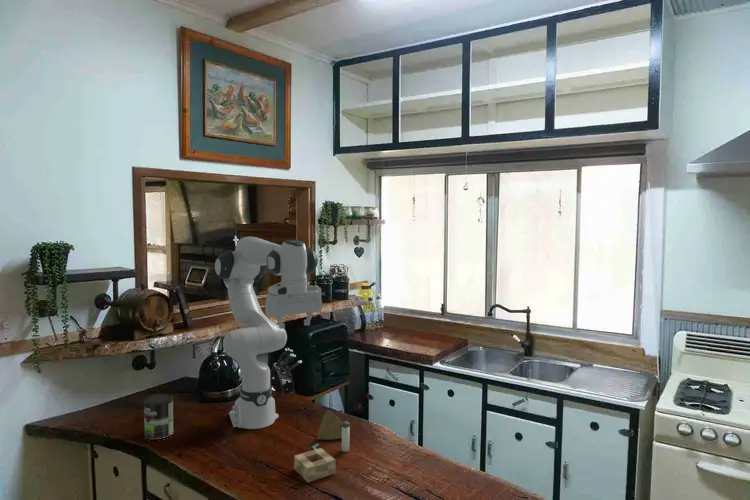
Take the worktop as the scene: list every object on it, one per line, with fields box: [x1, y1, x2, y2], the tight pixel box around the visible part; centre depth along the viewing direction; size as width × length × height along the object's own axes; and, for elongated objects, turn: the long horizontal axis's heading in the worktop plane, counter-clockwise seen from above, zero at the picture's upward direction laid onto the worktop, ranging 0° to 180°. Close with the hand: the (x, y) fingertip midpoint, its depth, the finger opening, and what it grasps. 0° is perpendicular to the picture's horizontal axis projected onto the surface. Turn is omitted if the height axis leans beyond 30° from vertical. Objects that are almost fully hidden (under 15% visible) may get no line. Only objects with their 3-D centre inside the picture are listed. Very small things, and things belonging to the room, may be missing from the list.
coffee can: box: [143, 393, 174, 439], centre depth 187 cm, size 10×10×14 cm
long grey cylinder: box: [341, 420, 351, 453], centre depth 177 cm, size 3×3×10 cm
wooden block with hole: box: [293, 447, 337, 483], centre depth 162 cm, size 10×10×4 cm
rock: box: [316, 409, 343, 441], centre depth 186 cm, size 11×9×10 cm
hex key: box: [311, 443, 320, 450], centre depth 176 cm, size 11×3×1 cm, turn 34°
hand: (294, 326), depth 172 cm, fingers open, 8 cm apart
